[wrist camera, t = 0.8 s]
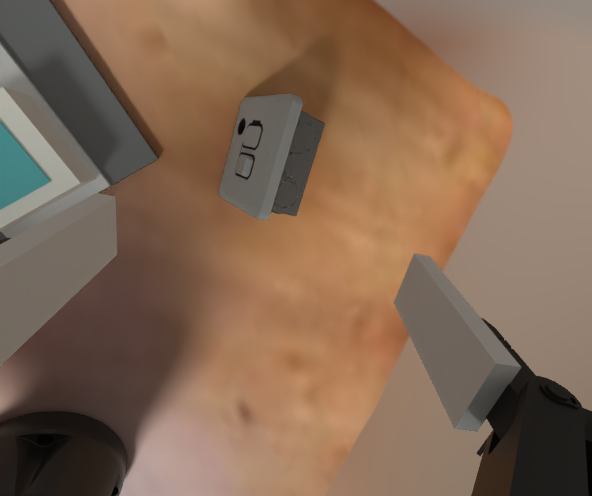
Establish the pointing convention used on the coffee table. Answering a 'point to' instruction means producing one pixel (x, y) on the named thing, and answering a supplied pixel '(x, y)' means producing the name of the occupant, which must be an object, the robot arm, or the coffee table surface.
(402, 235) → the coffee table surface
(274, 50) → the coffee table surface
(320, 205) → the coffee table surface
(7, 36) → the rail board
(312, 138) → the electrical switch
